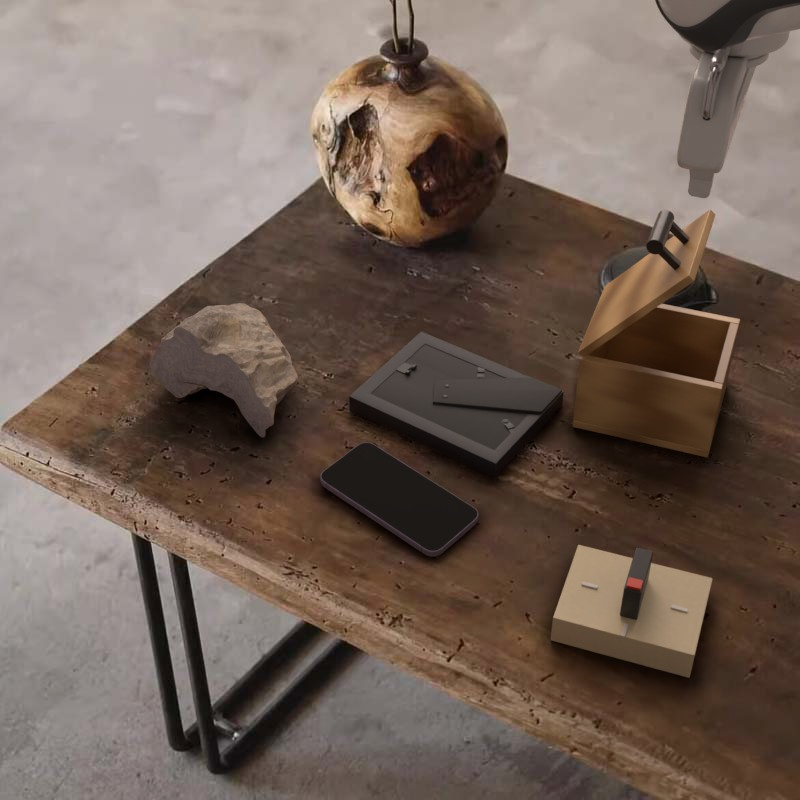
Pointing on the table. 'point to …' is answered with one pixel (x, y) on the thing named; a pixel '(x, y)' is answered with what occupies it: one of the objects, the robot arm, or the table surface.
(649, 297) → the chest lid
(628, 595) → the black red-tipped block
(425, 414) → the picture frame
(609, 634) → the plate
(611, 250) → the table surface
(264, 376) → the rock
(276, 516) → the table surface
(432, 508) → the smartphone
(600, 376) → the chest
